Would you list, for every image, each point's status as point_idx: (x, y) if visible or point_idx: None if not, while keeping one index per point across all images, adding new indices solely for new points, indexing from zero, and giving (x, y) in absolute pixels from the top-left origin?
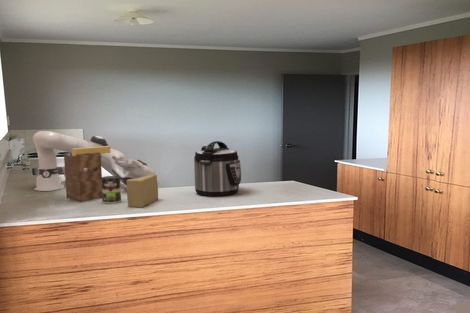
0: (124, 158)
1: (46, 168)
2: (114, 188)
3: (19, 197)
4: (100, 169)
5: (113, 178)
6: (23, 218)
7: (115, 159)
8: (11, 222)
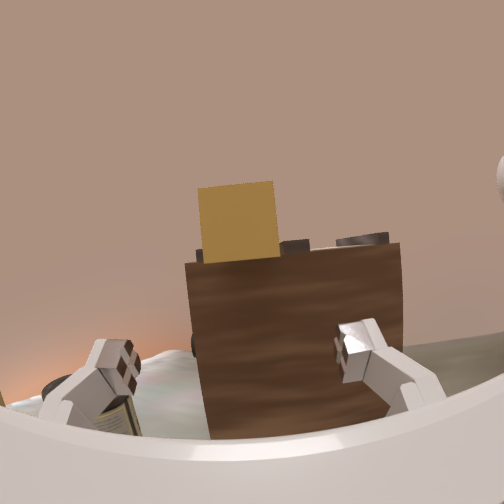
0: (76, 376)
1: None
2: None
3: (433, 354)
4: (198, 365)
5: (56, 379)
6: (181, 360)
7: (394, 395)
8: (174, 352)
